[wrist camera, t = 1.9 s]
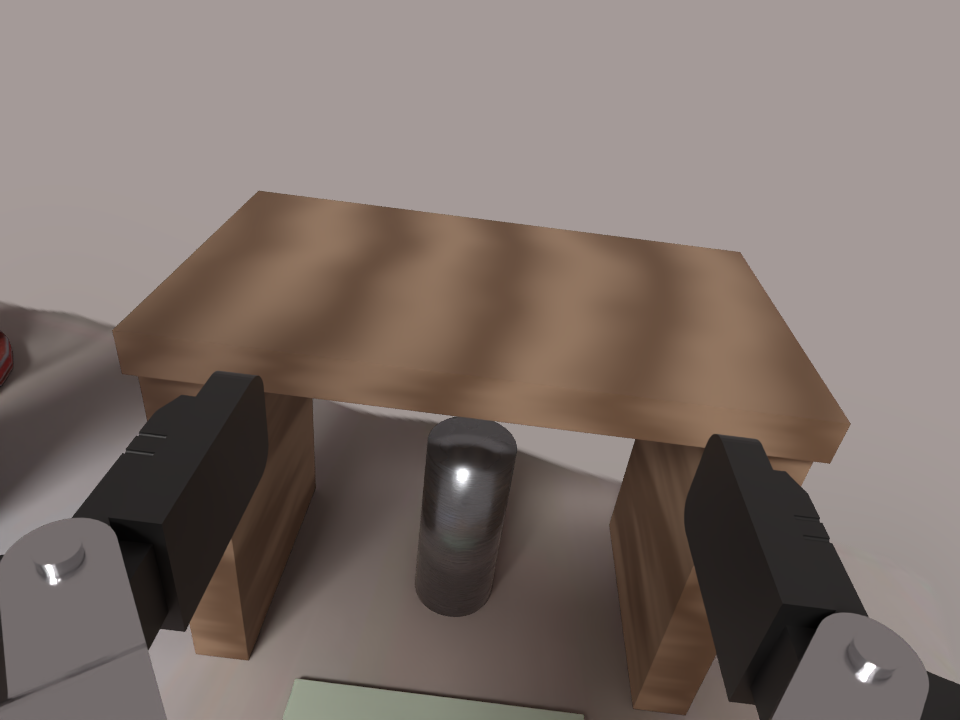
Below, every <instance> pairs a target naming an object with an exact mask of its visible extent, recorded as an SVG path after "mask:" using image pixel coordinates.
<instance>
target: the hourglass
mask: <svg viewBox="0 0 960 720" xmlns="http://www.w3.org/2000/svg"><path fill="white" fill-rule="evenodd" d="M12 368H13V352H12V349H11V345H10V342H9V339H8V338H7V337H6V336H5V335H4V334H3V333H2V331H1V330H0V386H1V385H2V384H3V383H4V381H5V380H6V378H7V376H8V375H9V373H10V372H11V370H12Z"/></svg>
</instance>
